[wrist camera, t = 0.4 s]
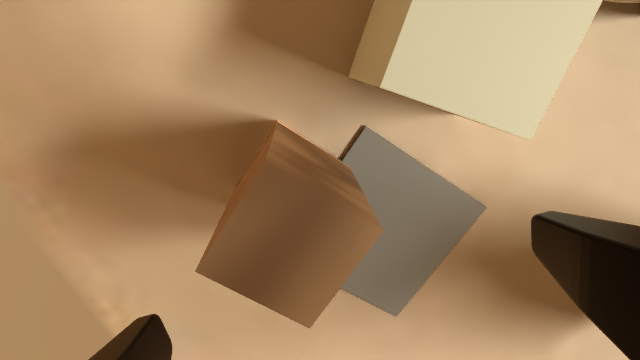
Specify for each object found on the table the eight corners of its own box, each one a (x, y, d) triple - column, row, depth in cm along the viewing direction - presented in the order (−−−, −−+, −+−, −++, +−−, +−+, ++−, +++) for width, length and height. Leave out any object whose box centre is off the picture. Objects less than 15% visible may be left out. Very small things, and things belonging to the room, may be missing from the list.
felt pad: (484, 206, 24) (486, 207, 24) (395, 314, 26) (396, 316, 26) (365, 125, 21) (366, 126, 21) (276, 254, 23) (276, 255, 23)
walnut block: (349, 165, 22) (383, 231, 13) (304, 229, 23) (309, 328, 14) (278, 120, 21) (265, 159, 12) (234, 190, 22) (195, 271, 13)
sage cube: (508, -8, 20) (622, -39, 13) (454, 114, 22) (530, 140, 15) (393, -58, 18) (457, -121, 12) (347, 76, 20) (380, 87, 14)
